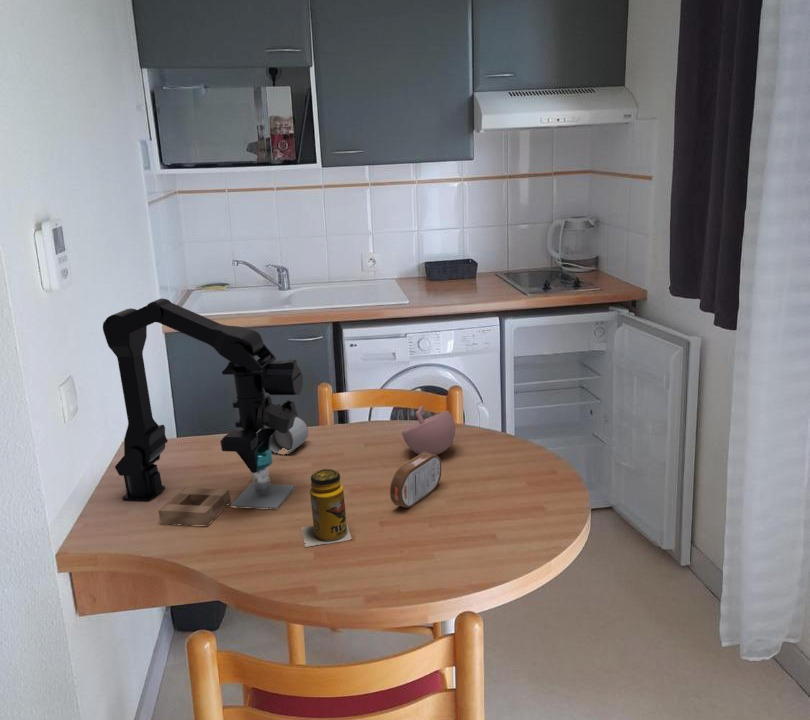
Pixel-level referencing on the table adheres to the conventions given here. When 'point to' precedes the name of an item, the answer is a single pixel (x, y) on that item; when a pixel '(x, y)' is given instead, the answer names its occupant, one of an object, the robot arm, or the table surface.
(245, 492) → the slate mat
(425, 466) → the tin
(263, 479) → the teal topped white bottle
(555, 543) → the table surface
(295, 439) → the ceramic mug
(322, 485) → the condiment
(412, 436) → the mortar and pestle
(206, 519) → the eye block
